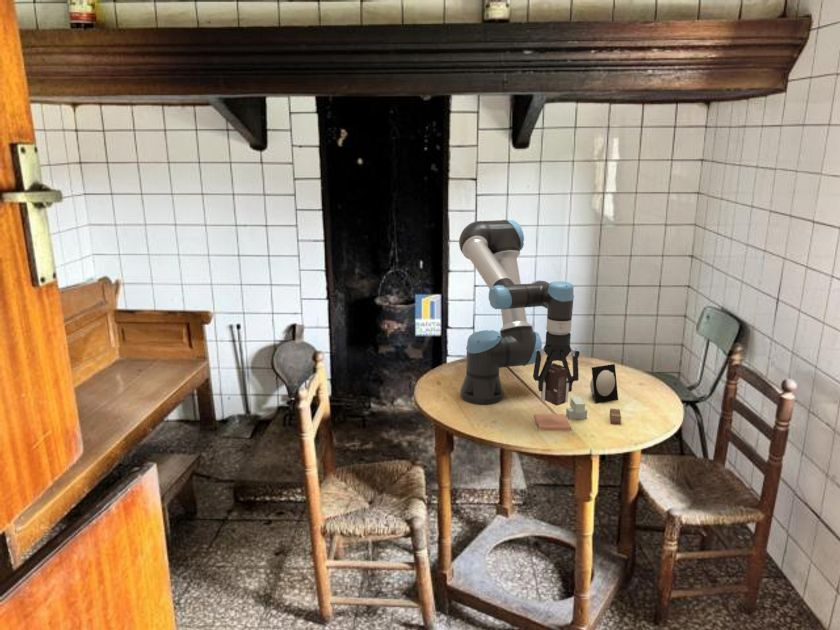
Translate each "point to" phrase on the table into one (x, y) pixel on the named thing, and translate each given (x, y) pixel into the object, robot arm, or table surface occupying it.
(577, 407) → the pale green brick
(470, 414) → the table surface
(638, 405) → the table surface
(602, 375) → the decorative object
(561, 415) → the tile
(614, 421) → the walnut brick
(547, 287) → the robot arm
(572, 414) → the grey brick
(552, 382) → the box
